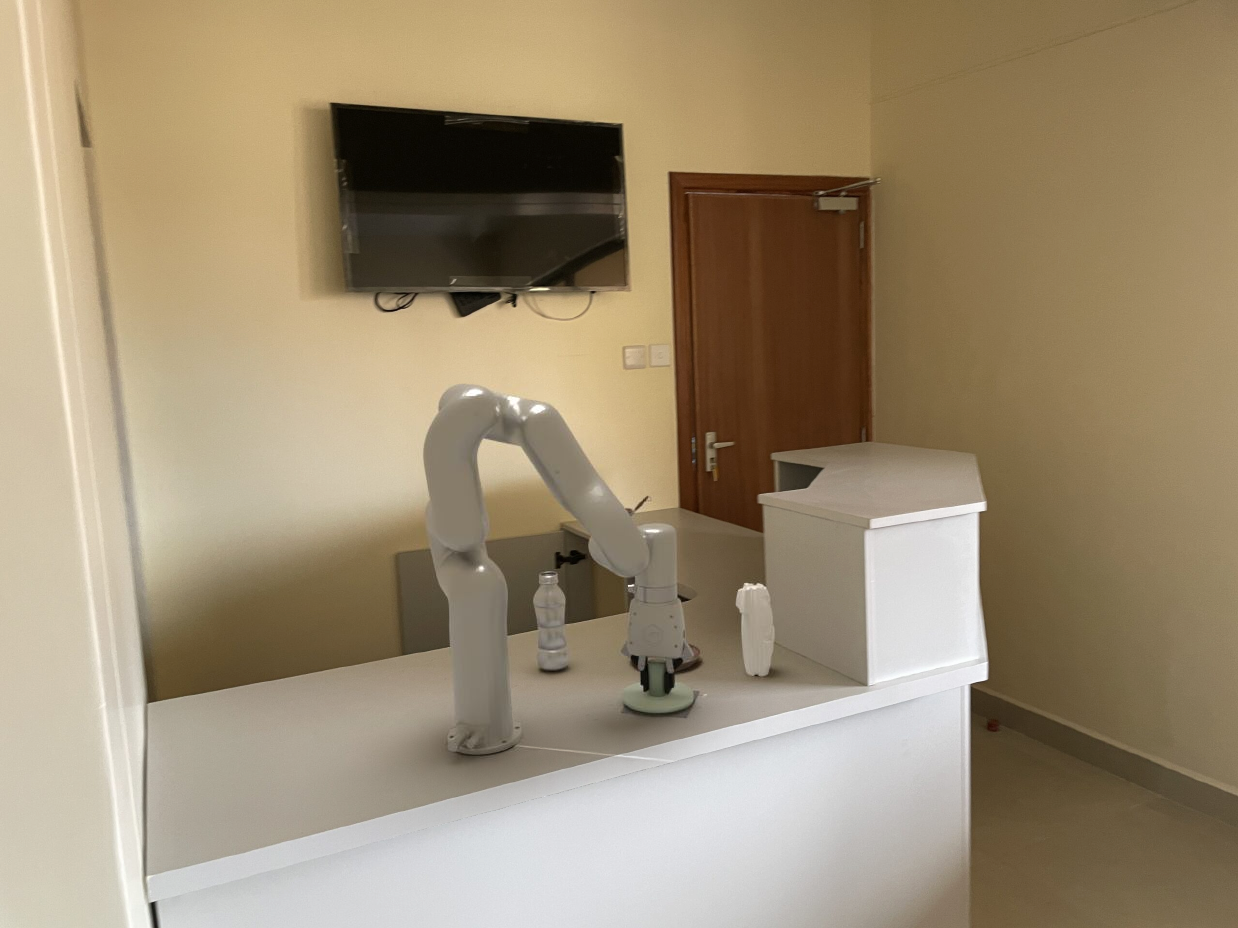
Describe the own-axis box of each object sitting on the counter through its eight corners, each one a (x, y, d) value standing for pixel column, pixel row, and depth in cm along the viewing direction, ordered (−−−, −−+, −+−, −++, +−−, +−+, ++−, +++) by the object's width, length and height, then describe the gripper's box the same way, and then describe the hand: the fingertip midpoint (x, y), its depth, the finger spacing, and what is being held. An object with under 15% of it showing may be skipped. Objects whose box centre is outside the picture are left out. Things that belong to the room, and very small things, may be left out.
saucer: (647, 648, 191) (646, 636, 191) (711, 656, 184) (711, 644, 184) (617, 672, 178) (616, 659, 178) (685, 681, 171) (685, 668, 171)
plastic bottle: (565, 674, 177) (560, 578, 174) (533, 673, 178) (527, 577, 176) (573, 663, 183) (568, 570, 180) (542, 662, 185) (537, 569, 182)
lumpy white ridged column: (736, 679, 171) (775, 680, 169) (733, 589, 168) (773, 590, 167) (739, 667, 177) (776, 668, 176) (736, 580, 175) (774, 580, 173)
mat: (686, 719, 154) (686, 717, 154) (620, 714, 157) (620, 712, 157) (700, 692, 165) (699, 690, 165) (638, 688, 168) (638, 686, 168)
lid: (685, 716, 153) (684, 677, 152) (613, 708, 156) (612, 671, 155) (699, 688, 165) (699, 652, 164) (633, 682, 169) (632, 647, 168)
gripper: (606, 595, 157) (608, 693, 159) (697, 601, 152) (698, 702, 155) (618, 584, 164) (620, 678, 166) (705, 589, 159) (706, 686, 162)
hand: (657, 689), depth 160 cm, fingers closed on lid, 3 cm apart
